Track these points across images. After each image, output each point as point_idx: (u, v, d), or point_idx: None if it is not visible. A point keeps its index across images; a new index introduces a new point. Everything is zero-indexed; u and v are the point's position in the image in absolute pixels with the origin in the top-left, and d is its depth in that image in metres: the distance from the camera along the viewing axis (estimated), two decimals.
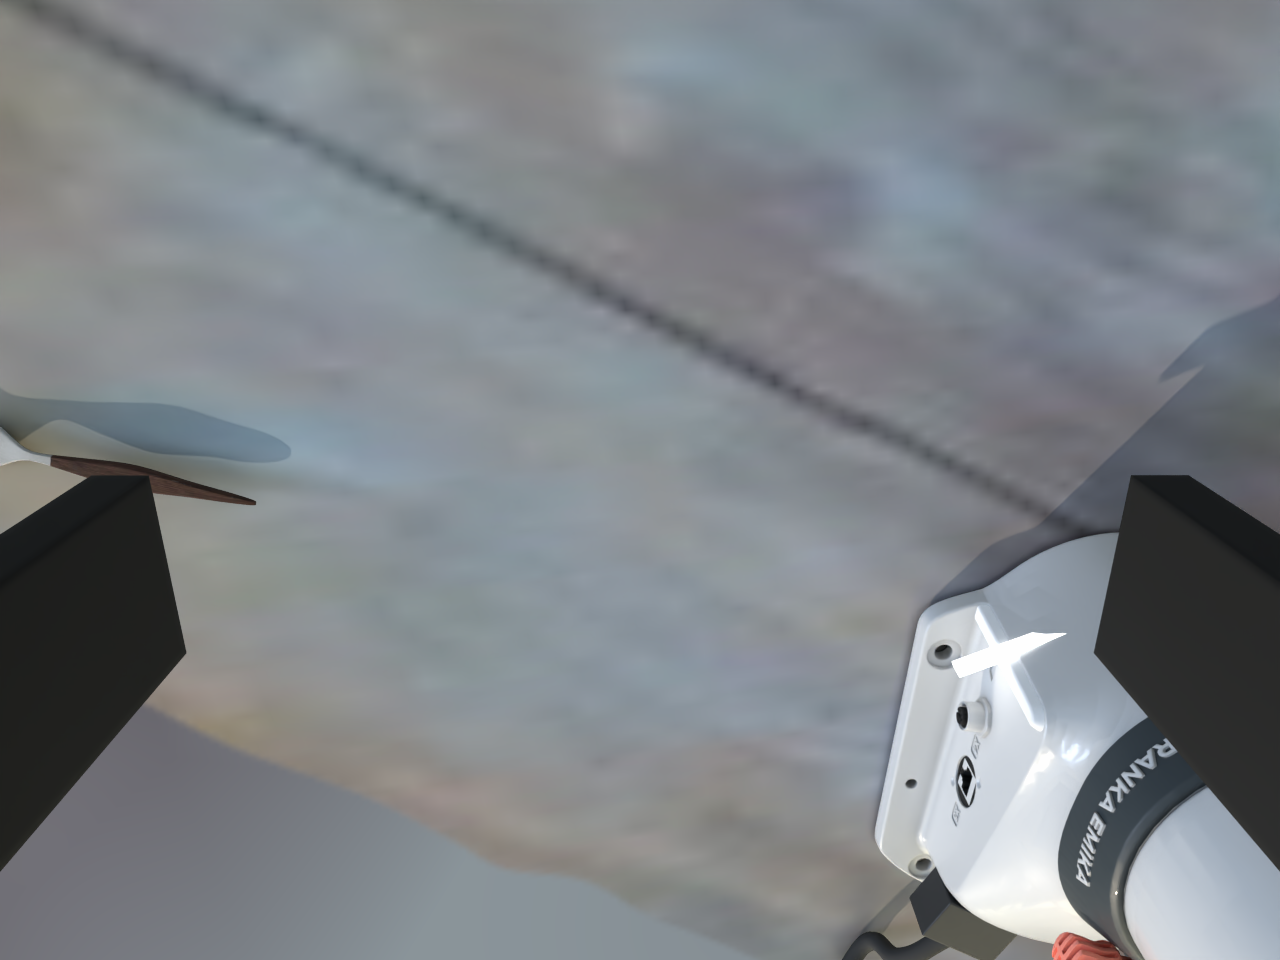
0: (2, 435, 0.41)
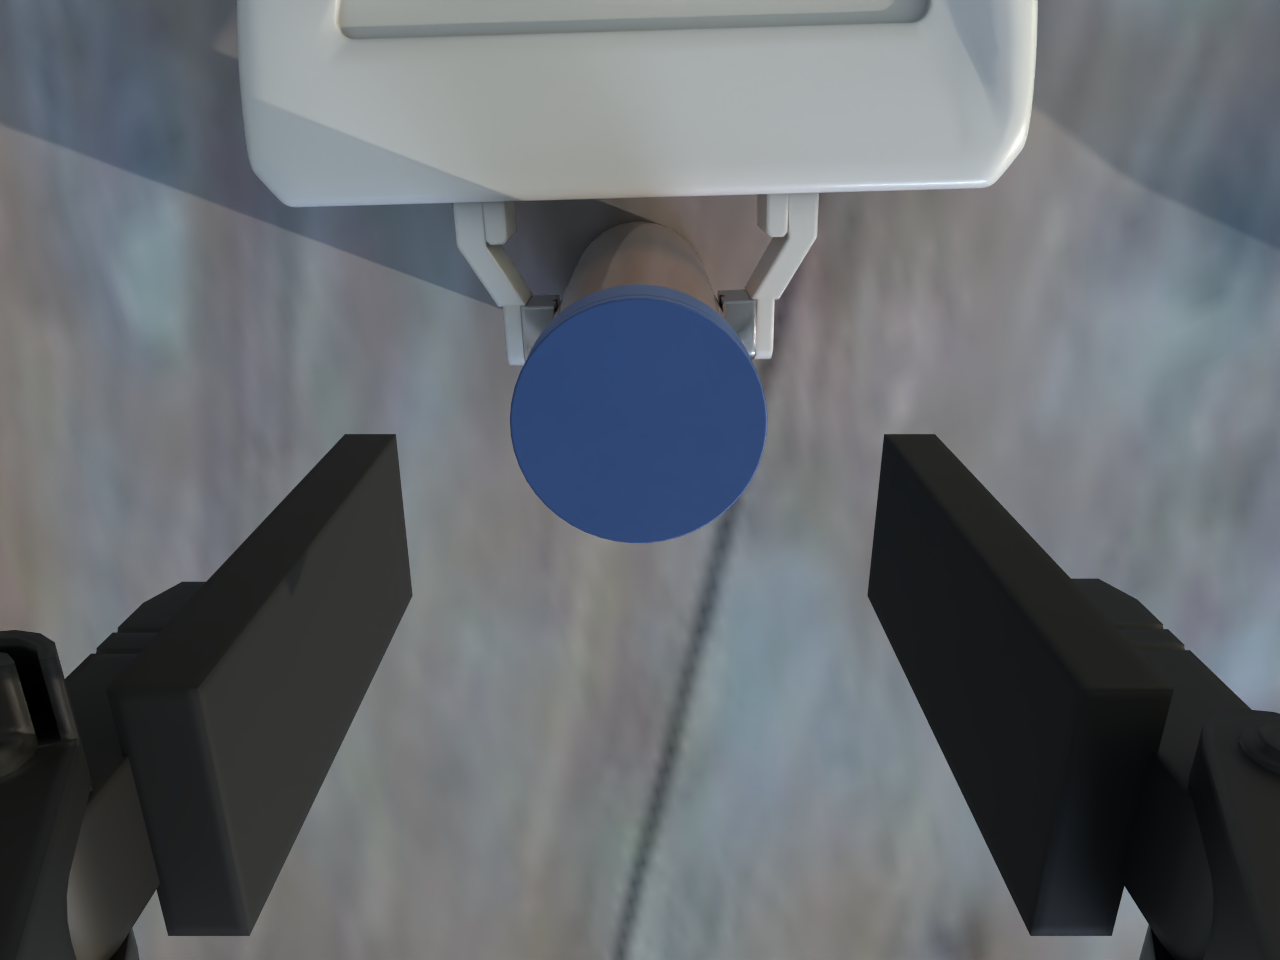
0: None
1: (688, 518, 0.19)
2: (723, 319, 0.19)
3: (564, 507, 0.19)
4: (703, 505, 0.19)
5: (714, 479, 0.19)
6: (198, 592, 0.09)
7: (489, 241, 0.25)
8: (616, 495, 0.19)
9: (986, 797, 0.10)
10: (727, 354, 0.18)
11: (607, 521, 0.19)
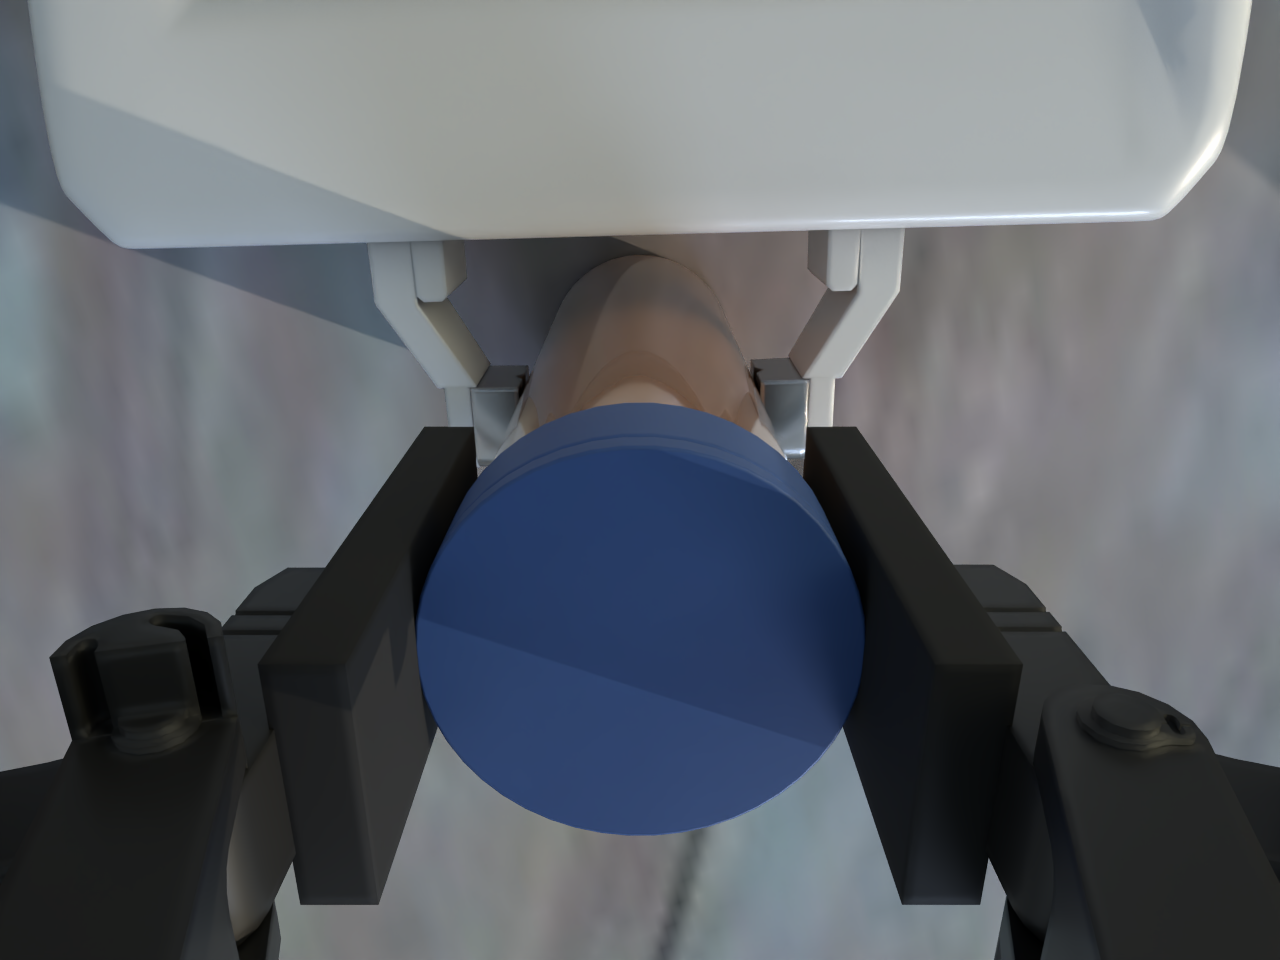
0: None
1: (724, 799, 0.11)
2: (785, 462, 0.11)
3: (513, 783, 0.11)
4: (750, 779, 0.11)
5: (770, 740, 0.11)
6: (322, 575, 0.09)
7: (422, 297, 0.17)
8: (601, 765, 0.11)
9: (872, 774, 0.10)
10: (799, 541, 0.10)
11: (586, 803, 0.11)
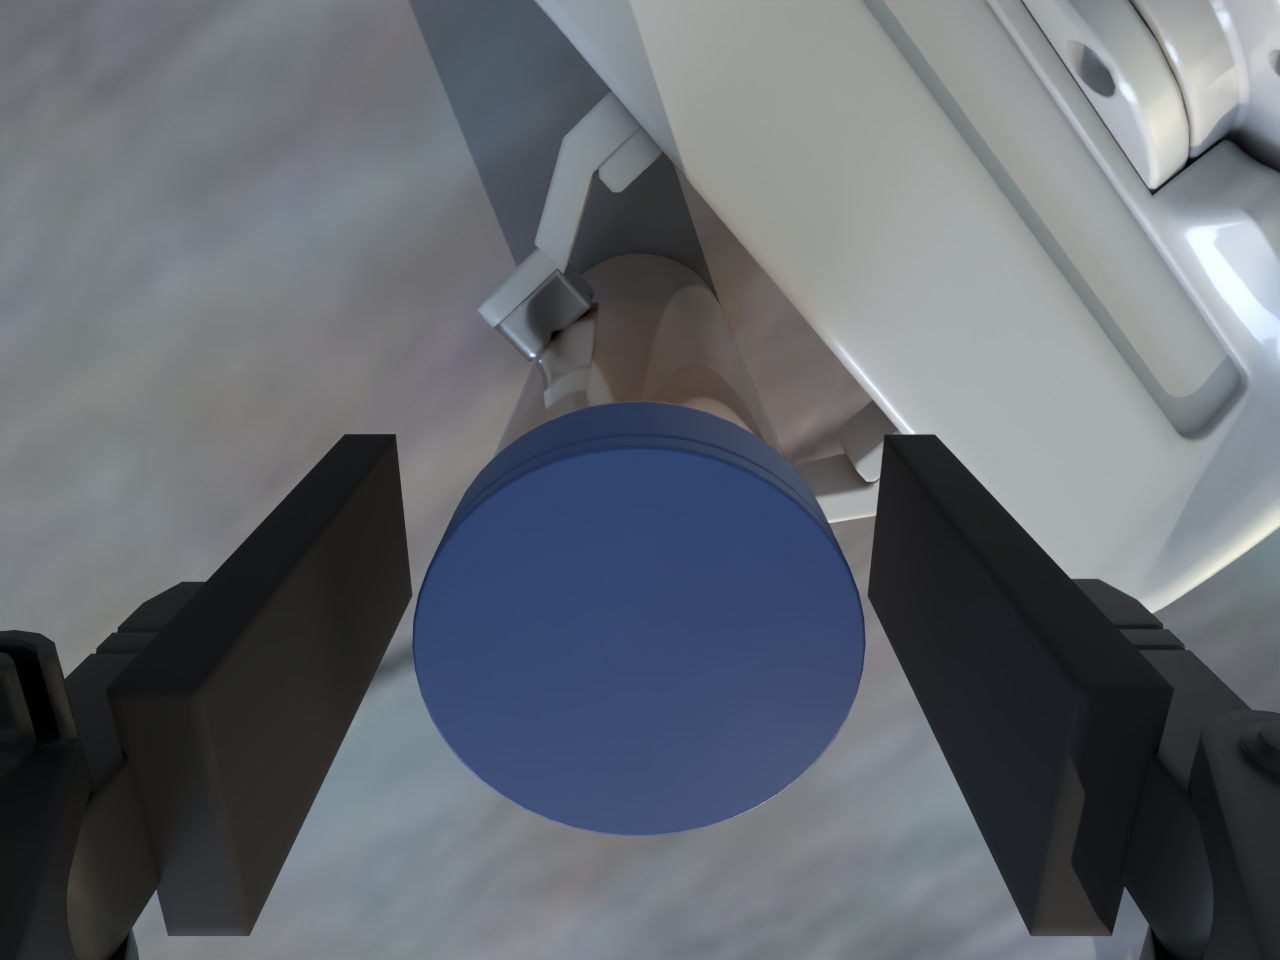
0: None
1: (811, 729, 0.11)
2: (659, 408, 0.11)
3: (626, 822, 0.11)
4: (819, 699, 0.10)
5: (806, 655, 0.10)
6: (198, 592, 0.09)
7: (602, 172, 0.16)
8: (682, 763, 0.11)
9: (985, 796, 0.10)
10: (683, 477, 0.09)
11: (698, 802, 0.11)
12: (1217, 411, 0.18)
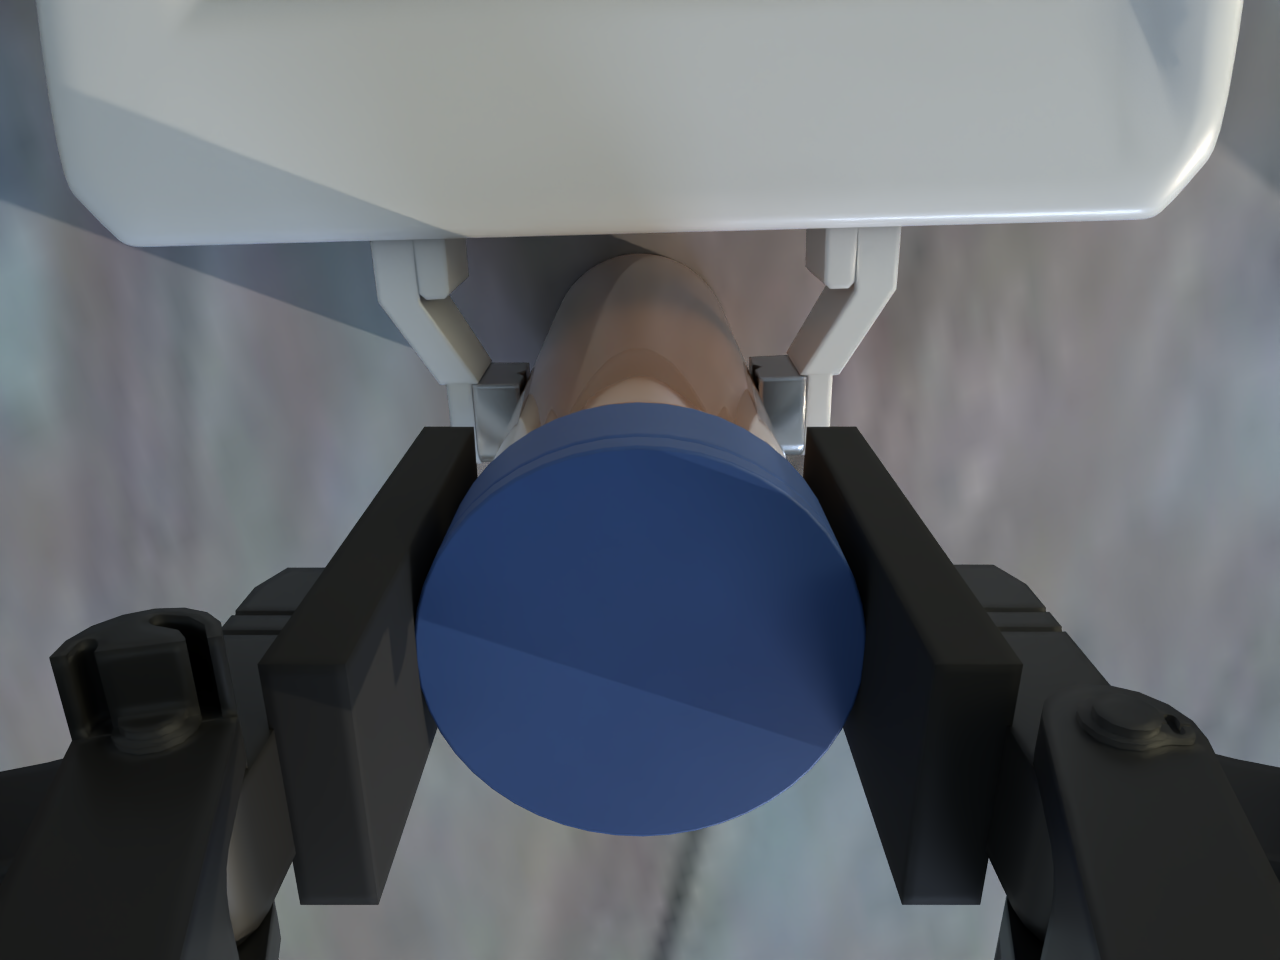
0: None
1: (825, 589, 0.10)
2: (492, 464, 0.11)
3: (778, 777, 0.11)
4: (802, 562, 0.10)
5: (752, 542, 0.10)
6: (322, 575, 0.09)
7: (424, 294, 0.17)
8: (764, 700, 0.11)
9: (872, 774, 0.10)
10: (510, 514, 0.10)
11: (812, 716, 0.11)
12: None
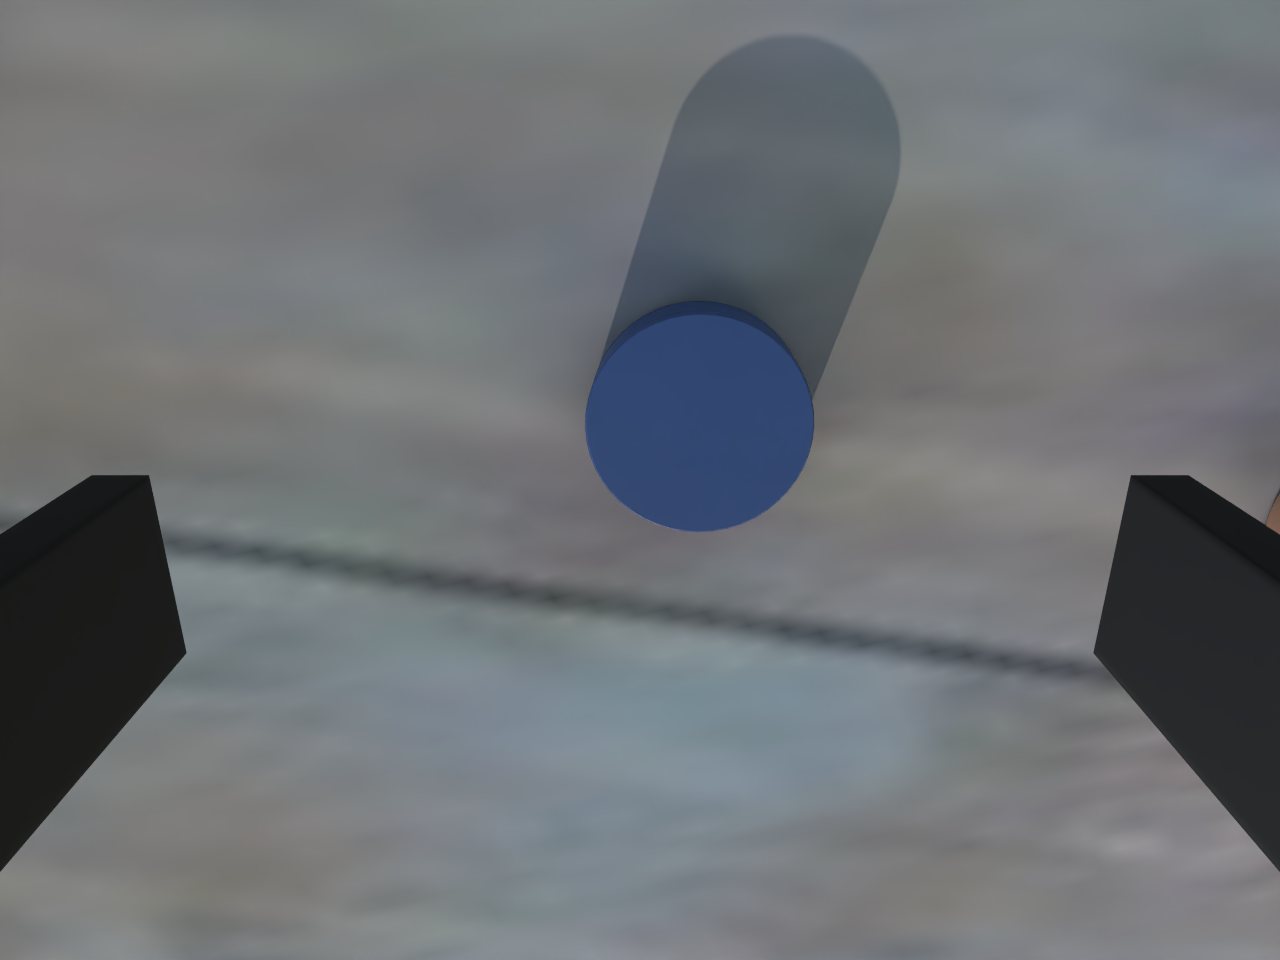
0: None
1: (792, 388, 0.20)
2: (622, 333, 0.21)
3: (769, 496, 0.21)
4: (781, 374, 0.20)
5: (755, 363, 0.20)
6: None
7: None
8: (762, 451, 0.21)
9: None
10: (637, 348, 0.20)
11: (787, 460, 0.21)
12: None
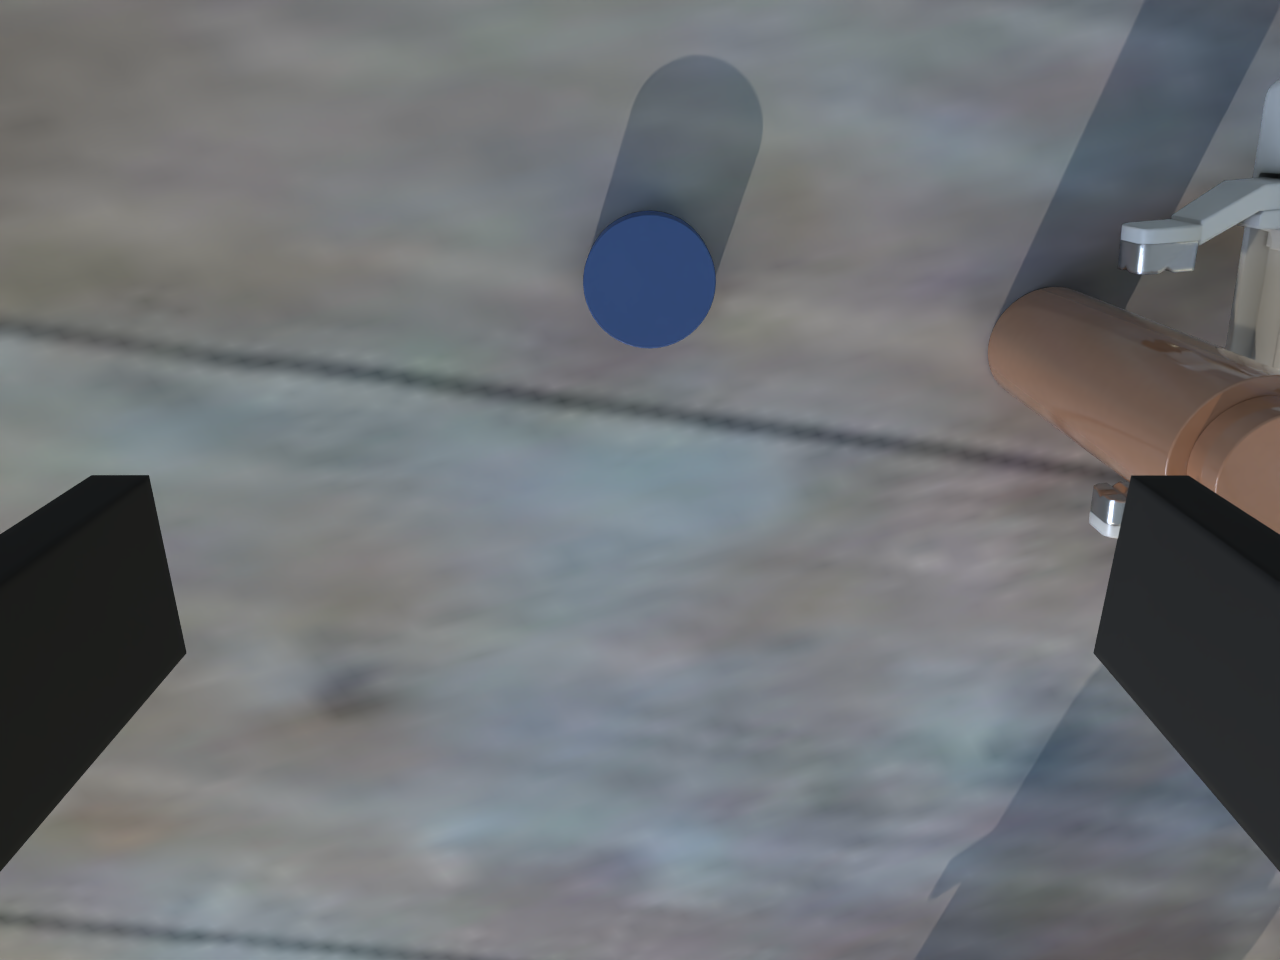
0: None
1: (702, 259, 0.35)
2: (604, 230, 0.36)
3: (691, 324, 0.36)
4: (695, 250, 0.35)
5: (681, 244, 0.35)
6: None
7: (1263, 214, 0.29)
8: (686, 297, 0.35)
9: None
10: (613, 235, 0.35)
11: (701, 303, 0.35)
12: None
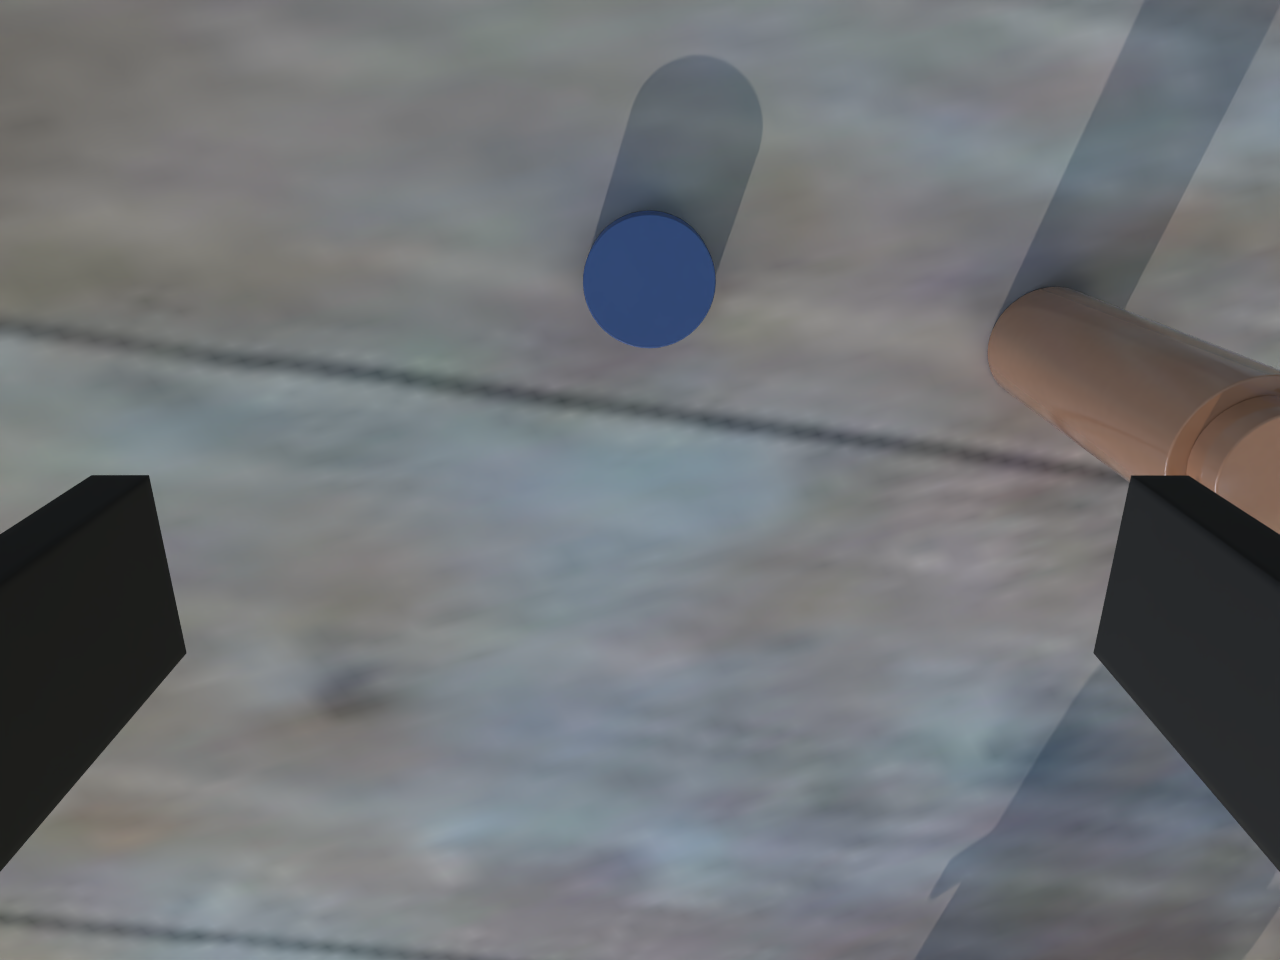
0: None
1: (702, 259, 0.35)
2: (603, 230, 0.36)
3: (691, 324, 0.36)
4: (695, 250, 0.35)
5: (680, 244, 0.35)
6: None
7: None
8: (686, 297, 0.35)
9: None
10: (613, 235, 0.35)
11: (700, 302, 0.35)
12: None
